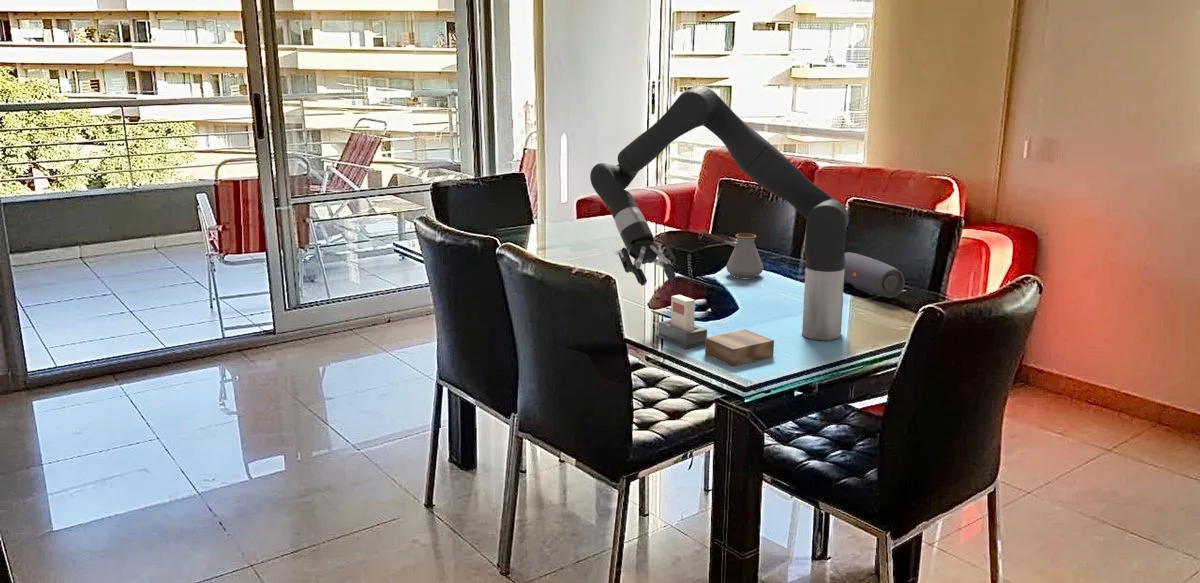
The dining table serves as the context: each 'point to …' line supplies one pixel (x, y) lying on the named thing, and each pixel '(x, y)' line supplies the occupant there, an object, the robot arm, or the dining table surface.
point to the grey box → (682, 335)
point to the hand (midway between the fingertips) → (658, 281)
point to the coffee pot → (742, 256)
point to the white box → (682, 312)
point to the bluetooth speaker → (873, 275)
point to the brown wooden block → (739, 347)
